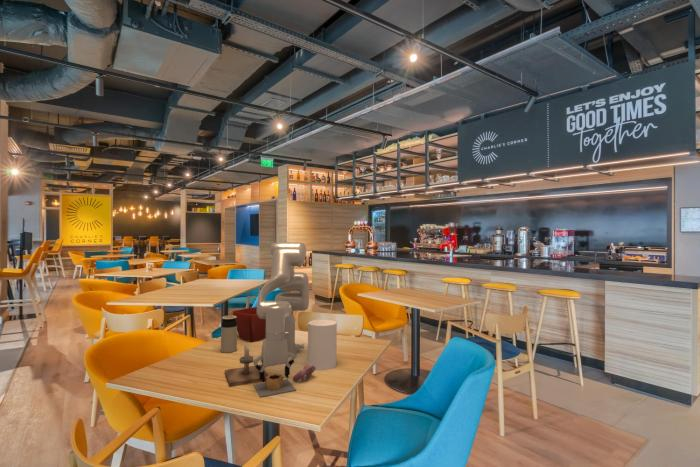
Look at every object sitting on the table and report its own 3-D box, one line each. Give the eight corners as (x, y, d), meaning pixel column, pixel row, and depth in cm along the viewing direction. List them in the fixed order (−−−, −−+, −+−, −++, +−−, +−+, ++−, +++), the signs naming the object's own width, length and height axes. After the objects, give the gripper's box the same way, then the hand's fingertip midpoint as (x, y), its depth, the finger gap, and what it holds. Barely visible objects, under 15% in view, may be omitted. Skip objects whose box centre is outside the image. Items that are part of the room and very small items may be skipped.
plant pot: (231, 338, 212) (231, 310, 212) (258, 332, 227) (258, 306, 227) (249, 344, 200) (250, 314, 200) (277, 338, 214) (277, 310, 215)
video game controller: (298, 387, 146) (305, 373, 145) (291, 380, 148) (297, 366, 147) (312, 379, 155) (318, 365, 153) (305, 372, 157) (311, 359, 155)
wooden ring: (280, 382, 145) (280, 373, 145) (284, 388, 140) (284, 378, 140) (264, 385, 142) (264, 375, 143) (268, 391, 137) (268, 381, 137)
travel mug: (233, 353, 185) (234, 318, 185) (218, 353, 185) (219, 318, 185) (238, 348, 193) (239, 315, 193) (224, 348, 193) (224, 315, 193)
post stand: (261, 367, 163) (261, 339, 164) (269, 380, 149) (269, 349, 149) (224, 373, 156) (225, 343, 157) (229, 386, 142) (229, 354, 142)
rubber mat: (287, 379, 149) (287, 379, 149) (296, 390, 139) (296, 389, 139) (253, 385, 143) (253, 384, 143) (260, 397, 132) (260, 396, 132)
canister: (341, 366, 165) (341, 323, 166) (314, 371, 159) (315, 327, 159) (328, 358, 177) (329, 318, 178) (303, 362, 171) (303, 321, 171)
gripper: (293, 331, 149) (293, 372, 148) (251, 336, 141) (250, 379, 141) (298, 335, 142) (298, 378, 142) (255, 340, 134) (254, 386, 134)
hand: (274, 378), depth 141 cm, fingers open, 9 cm apart
